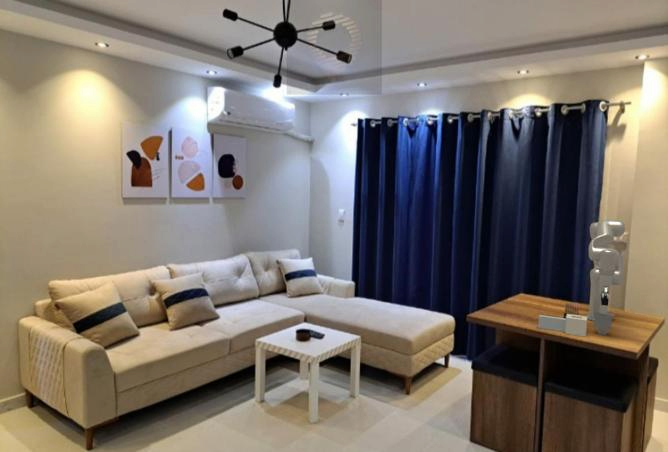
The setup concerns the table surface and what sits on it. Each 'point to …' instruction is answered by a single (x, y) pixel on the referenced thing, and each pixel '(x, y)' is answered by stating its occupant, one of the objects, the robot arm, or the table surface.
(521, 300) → the table surface
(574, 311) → the ammunition clip
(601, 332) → the steel bracket
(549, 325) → the headboard post
